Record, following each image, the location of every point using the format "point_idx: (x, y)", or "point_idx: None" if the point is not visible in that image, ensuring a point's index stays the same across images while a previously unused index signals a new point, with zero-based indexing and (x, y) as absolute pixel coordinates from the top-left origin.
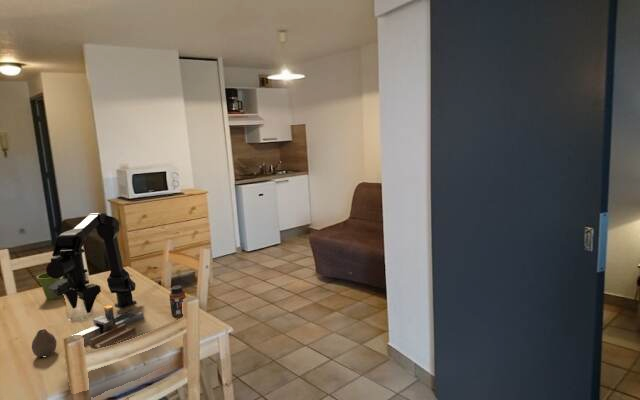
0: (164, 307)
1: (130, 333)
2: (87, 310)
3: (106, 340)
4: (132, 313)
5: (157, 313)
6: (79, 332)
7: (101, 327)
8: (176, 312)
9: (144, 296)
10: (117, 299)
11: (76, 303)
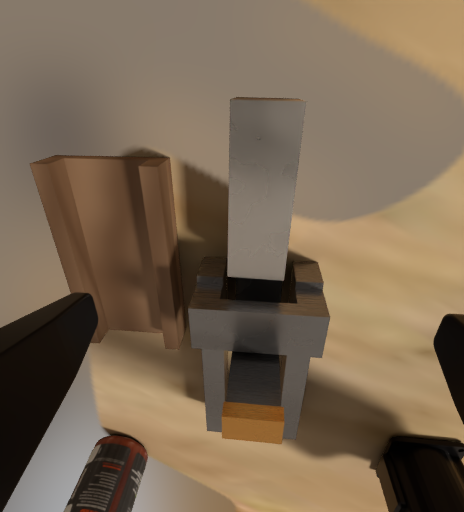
0: (222, 465)
1: None
2: (35, 314)
3: (55, 206)
4: None
5: (199, 436)
6: (295, 183)
7: (249, 289)
8: (96, 452)
9: None
10: (453, 481)
11: (457, 399)
